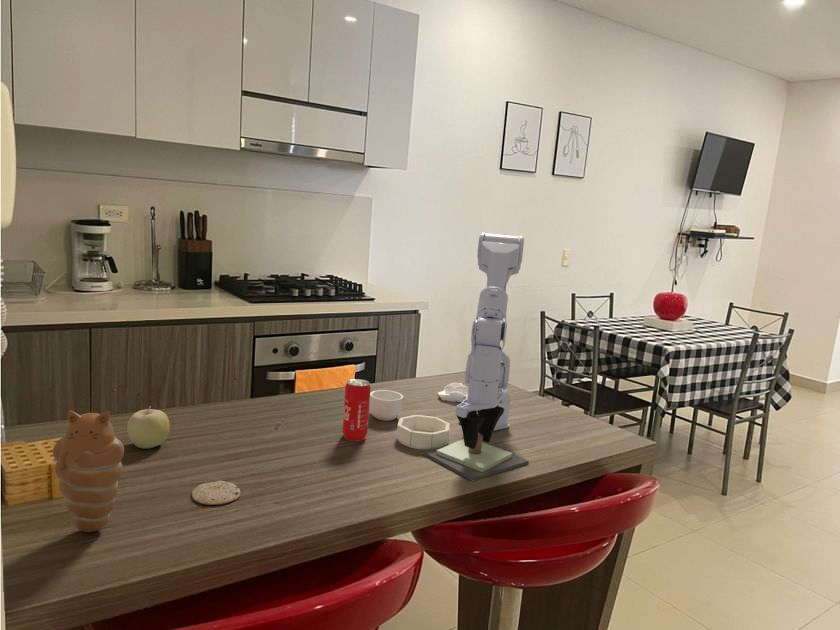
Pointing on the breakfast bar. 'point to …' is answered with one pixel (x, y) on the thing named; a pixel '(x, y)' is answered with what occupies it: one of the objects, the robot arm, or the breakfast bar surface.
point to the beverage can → (356, 409)
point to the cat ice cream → (89, 469)
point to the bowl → (422, 432)
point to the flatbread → (216, 493)
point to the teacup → (385, 404)
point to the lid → (474, 454)
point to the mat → (473, 473)
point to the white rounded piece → (454, 392)
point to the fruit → (148, 428)
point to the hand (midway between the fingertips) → (477, 443)
